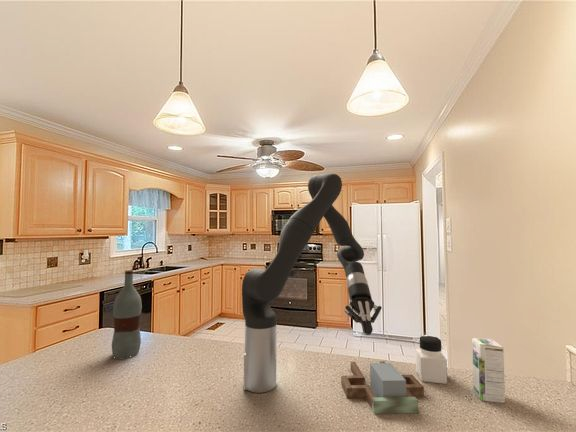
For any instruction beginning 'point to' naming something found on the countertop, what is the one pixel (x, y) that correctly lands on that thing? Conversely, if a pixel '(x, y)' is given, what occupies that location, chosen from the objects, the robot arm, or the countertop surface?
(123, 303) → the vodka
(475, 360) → the syrup box
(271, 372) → the robot arm
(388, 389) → the slate block
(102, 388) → the countertop surface
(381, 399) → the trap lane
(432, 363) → the medicine bottle
